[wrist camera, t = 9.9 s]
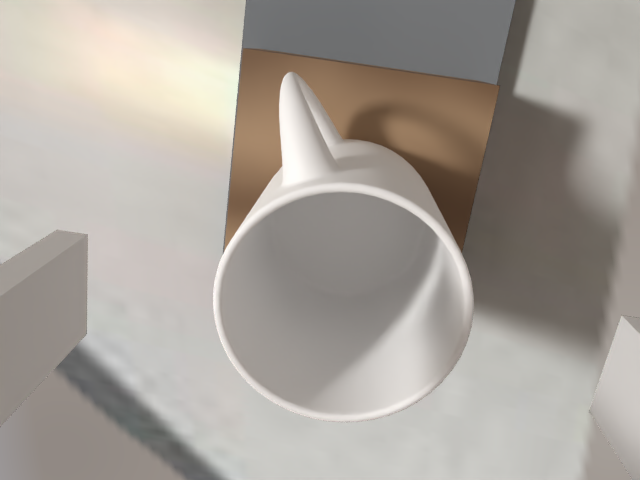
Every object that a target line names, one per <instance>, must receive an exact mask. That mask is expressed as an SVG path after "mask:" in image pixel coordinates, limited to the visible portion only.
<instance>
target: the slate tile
mask: <svg viewBox="0 0 640 480" xmlns="http://www.w3.org/2000/svg"><path fill="white" fill-rule="evenodd" d="M515 1H516V0H246V7H245V18H244V29H243V40H242V51H241V61H240V72H239V83H238V94H237V105H236V116H235V127H234V138H233V149H232V159H231V170H230V181H229V192H228V203H227V214H226V225H225V236H224V247H223V254H224V248H225V237H226V226H227V216H228V205H229V194H230V183H231V172H232V161H233V151H234V140H235V129H236V118H237V107H238V97H239V86H240V75H241V64H242V53H243V48H254V49H266V50H272V51H279V52H286V53H293V54H300V55H307V56H313V57H320V58H327V59H334V60H341V61H348V62H354V63H361V64H368V65H375V66H382V67H388V68H395V69H402V70H409V71H416V72H423V73H429V74H436V75H443V76H450V77H457V78H463V79H470V80H477V81H482V82H486V83H490V84H494V85H497V81H498V76H499V72H500V67H501V63H502V59H503V54H504V50H505V45H506V41H507V36H508V32H509V28H510V23H511V19H512V14H513V10H514V6H515Z"/></svg>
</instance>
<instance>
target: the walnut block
mask: <svg viewBox="0 0 640 480" xmlns="http://www.w3.org/2000/svg"><path fill="white" fill-rule="evenodd" d="M289 72H294V73H296V74H298V75H299V76H300V77H301V78H302V79H303V80H304V81H305V82H306V83H307V85H308V86H309V87H310V88H311V90H312V91H313V92H314V94H315V95H316V97H317V98H318V100H319V101H320V103H321V104H322V106H323V108H324V109H325V111H326V112H327V114H328V116H329V117H330V119H331V121H332V122H333V124H334V126H335V127H336V129H337V131H338V133H339V134H340V136H341V137H342V139H353V140H362V141H368V142H372V143H375V144H378V145H382V146H384V147H386V148H388V149H390V150H392V151H393V152H395V153H396V154H398V155H399V156H401V157H402V158H404V159H405V160H406V161H407V162H408V163H409V164H410V165H411V166H412V167H413V168H414V169H415V170H416V171H417V173H418V174H419V175H420V176H421V178H422V179H423V181H424V182H425V184H426V186H427V187H428V189H429V191H430V193H431V195H432V197H433V199H434V200H435V202H436V204H437V206H438V208H439V210H440V212H441V214H442V216H443V218H444V220H445V222H446V224H447V226H448V227H449V229H450V231H451V233H452V235H453V237H454V239H455V241H456V243H457V245H458V247H459V249H460V251H461V253H462V250H463V245H464V241H465V237H466V232H467V228H468V223H469V219H470V215H471V210H472V206H473V202H474V197H475V193H476V188H477V184H478V180H479V175H480V171H481V167H482V162H483V158H484V153H485V149H486V145H487V140H488V136H489V131H490V127H491V123H492V118H493V114H494V110H495V105H496V101H497V96H498V92H499V88H500V86H498V85H494V84H490V83H486V82H482V81H477V80H470V79H463V78H457V77H450V76H443V75H436V74H429V73H423V72H416V71H409V70H402V69H395V68H388V67H382V66H375V65H368V64H361V63H354V62H348V61H341V60H334V59H327V58H320V57H313V56H307V55H300V54H293V53H286V52H279V51H272V50H266V49H254V48H243V53H242V64H241V75H240V86H239V97H238V107H237V118H236V129H235V140H234V151H233V161H232V172H231V183H230V194H229V205H228V216H227V226H226V237H225V248H224V251H225V249H226V247H227V246H228V244H229V242H230V241H231V239H232V238H233V236H234V234H235V233H236V231H237V230H238V228H239V227H240V225H241V224H242V223H243V221H244V220H245V218H246V217H247V215H248V214H249V212H250V211H251V209H252V208H253V206H254V205H255V203H256V202H257V200H258V199H259V197H260V196H261V194H262V193H263V191H264V190H265V188H266V187H267V185H268V184H269V182H270V181H271V179H272V178H273V176H274V175H275V174H276V173H277V172H278V171H279V170H280V168H281V167H282V151H281V138H280V123H279V99H280V88H281V84H282V81H283V78H284V76H285V75H286V74H287V73H289Z"/></svg>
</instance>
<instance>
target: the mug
mask: <svg viewBox="0 0 640 480" xmlns="http://www.w3.org/2000/svg"><path fill="white" fill-rule="evenodd" d="M279 123H280V138H281V151H282V167H281V168H280V170H279V171H278V172H277V173H276V174H275V175H274V176H273V178H272V179H271V181H270V182H269V184H268V185H267V187H266V188H265V190H264V191H263V193H262V194H261V196H260V197H259V199H258V200H257V202H256V203H255V205H254V206H253V208H252V209H251V211H250V212H249V214H248V215H247V217H246V218H245V220H244V221H243V223H242V224H241V225H240V227H239V228H238V230H237V231H236V233H235V234H234V236H233V238H232V239H231V241H230V242H229V244H228V246H227V247H226V249H225V251H224V254H223V256H222V258H221V260H220V263H219V266H218V269H217V273H216V276H215V283H214V290H213V311H214V317H215V324H216V327H217V331H218V334H219V338H220V340H221V343H222V345H223V347H224V349H225V352H226V354H227V355H228V357H229V359H230V360H231V362H232V363H233V365H234V367H235V368H236V369H237V370H238V372H239V373H240V374H241V375H242V377H243V378H244V379H245V380H246V381H247V382H248V383H249V384H250V385H251V386H252V387H253V388H254V389H255V390H257V391H258V392H259V393H260V394H262V395H263V396H264V397H266V398H267V399H269V400H270V401H272V402H274V403H275V404H277V405H279V406H280V407H283V408H285V409H287V410H289V411H292V412H294V413H296V414H299V415H303V416H306V417H309V418H313V419H318V420H323V421H332V422H360V421H367V420H374V419H377V418H381V417H385V416H389V415H391V414H394V413H396V412H399V411H401V410H404V409H406V408H408V407H409V406H411V405H413V404H415V403H417V402H418V401H420V400H421V399H423V398H424V397H425V396H427V395H428V394H430V393H431V392H432V391H433V390H434V389H435V388H436V387H437V386H438V385H440V384H441V383H442V382H443V380H444V379H445V378H446V377H447V376H448V374H449V373H450V372H451V371H452V369H453V368H454V366H455V365H456V363H457V361H458V360H459V358H460V357H461V355H462V352H463V350H464V348H465V346H466V344H467V341H468V337H469V334H470V331H471V327H472V320H473V313H474V294H473V287H472V280H471V277H470V273H469V270H468V267H467V264H466V262H465V259H464V257H463V255H462V253H461V251H460V249H459V247H458V245H457V243H456V241H455V239H454V237H453V235H452V233H451V231H450V229H449V227H448V226H447V224H446V222H445V220H444V218H443V216H442V214H441V212H440V210H439V208H438V206H437V204H436V202H435V200H434V199H433V197H432V195H431V193H430V191H429V189H428V187H427V186H426V184H425V182H424V181H423V179H422V178H421V176H420V175H419V174H418V173H417V171H416V170H415V169H414V168H413V167H412V166H411V165H410V164H409V163H408V162H407V161H406V160H405V159H404V158H402V157H401V156H399V155H398V154H396V153H395V152H393V151H392V150H390V149H388V148H386V147H384V146H382V145H378V144H375V143H372V142H368V141H362V140H353V139H342V137H341V136H340V134H339V133H338V131H337V129H336V127H335V126H334V124H333V122H332V121H331V119H330V117H329V116H328V114H327V112H326V111H325V109H324V108H323V106H322V104H321V103H320V101H319V100H318V98H317V97H316V95H315V94H314V92H313V91H312V90H311V88H310V87H309V86H308V85H307V83H306V82H305V81H304V80H303V79H302V78H301V77H300V76H299V75H298V74H296V73H294V72H289V73H287V74H286V75H285V76H284V78H283V81H282V84H281V88H280V99H279Z"/></svg>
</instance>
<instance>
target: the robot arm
mask: <svg viewBox="0 0 640 480" xmlns="http://www.w3.org/2000/svg"><path fill="white" fill-rule="evenodd" d="M87 251H88V234H81V233H74V232H68V231H61V230H56V231H54V232H53V233H51V234H49V235H48V236H46V237H45V238H43V239H41V240H40V241H38V242H36V243H35V244H33V245H32V246H30V247H28V248H27V249H25V250H24V251H22V252H20V253H19V254H17V255H15V256H14V257H12V258H11V259H9V260H7V261H6V262H4V263H3V264H1V265H0V427H1V426H2V425H3V423H4V422H5V421H6V420H7V419H8V418H9V417H10V416H11V415H12V414H13V413H14V412H15V410H17V408H18V407H19V406H20V405H21V404H22V403H23V402H24V401H25V400H26V399H27V398H28V397H29V396H30V395H31V393H32V392H33V391H34V390H35V389H36V388H37V387H38V386H39V385H40V384H41V383H42V382H43V381H44V379H45V378H46V377H47V376H48V375H49V374H50V373H51V372H52V371H53V370H54V369H55V368H56V367H57V366H58V364H59V363H60V362H61V361H62V360H63V359H64V358H65V357H66V356H67V355H68V354H69V353H70V352H71V351H72V349H73V348H74V347H75V346H76V345H77V344H78V343H79V342H80V341H81V340H82V339H83V338H84V337H85V335H86V334H87ZM589 412H590V414H591V415H592V417H593V418H594V420H595V422H596V423H597V425H598V426H599V428H600V430H601V431H602V433H603V434H604V436H605V437H606V439H607V441H608V442H609V444H610V445H611V447H612V449H613V450H614V452H615V453H616V455H617V456H618V458H619V460H620V461H621V463H622V464H623V466H624V467H625V469H626V471H627V472H628V474H629V475H630V477H631V479H632V480H640V318H637V317H630V316H623V315H622V316H621V318H620V321H619V324H618V327H617V330H616V333H615V336H614V339H613V342H612V345H611V348H610V351H609V353H608V356H607V359H606V362H605V365H604V368H603V371H602V374H601V377H600V380H599V383H598V386H597V389H596V392H595V395H594V398H593V401H592V404H591V407H590V410H589Z"/></svg>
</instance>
